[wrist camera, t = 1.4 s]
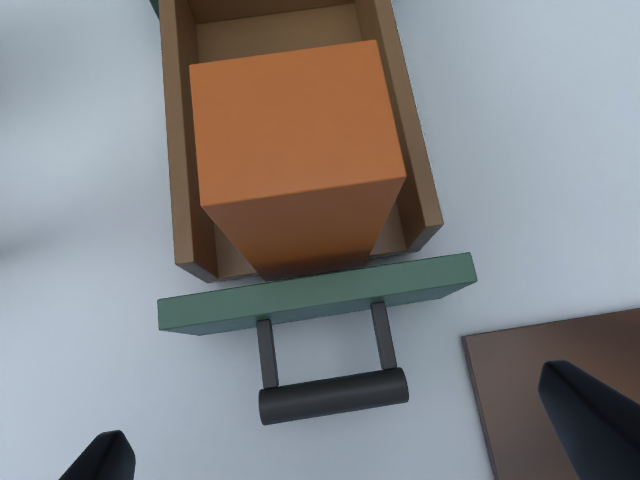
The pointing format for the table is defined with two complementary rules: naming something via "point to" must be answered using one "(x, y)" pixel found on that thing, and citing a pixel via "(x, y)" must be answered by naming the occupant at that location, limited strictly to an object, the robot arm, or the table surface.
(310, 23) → the drawer
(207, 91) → the orange rectangular prism
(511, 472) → the board
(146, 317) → the table surface
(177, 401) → the table surface
